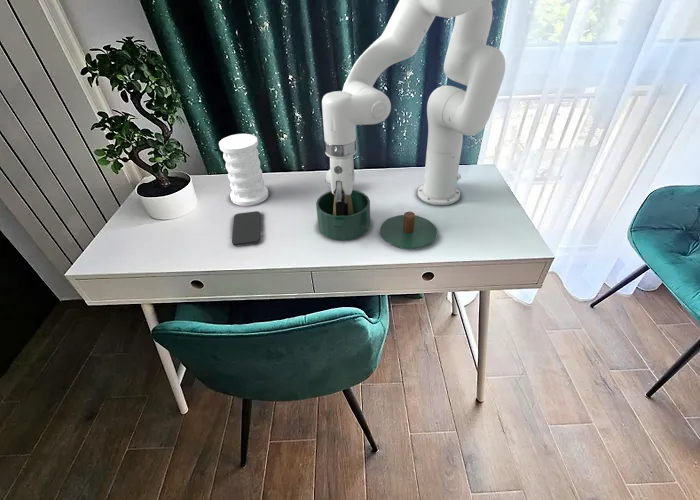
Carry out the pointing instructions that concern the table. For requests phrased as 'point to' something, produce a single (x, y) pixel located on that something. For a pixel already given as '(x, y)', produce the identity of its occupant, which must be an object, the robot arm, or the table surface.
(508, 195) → the table surface
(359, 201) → the pot
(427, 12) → the robot arm
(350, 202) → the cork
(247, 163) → the decorative container
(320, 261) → the table surface
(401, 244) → the lid
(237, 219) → the phone
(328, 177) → the white rounded upright piece
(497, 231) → the table surface
